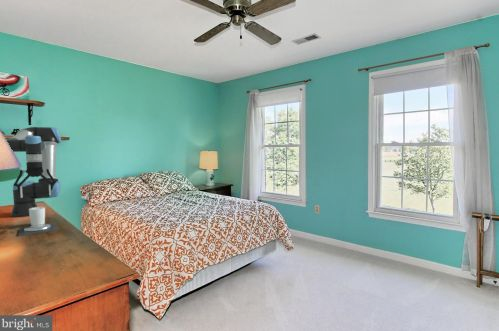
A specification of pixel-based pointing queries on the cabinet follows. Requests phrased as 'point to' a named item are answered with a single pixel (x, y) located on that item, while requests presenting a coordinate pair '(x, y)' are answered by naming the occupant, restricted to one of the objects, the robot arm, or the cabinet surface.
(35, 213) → the white cup
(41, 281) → the cabinet surface
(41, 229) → the duct collar
